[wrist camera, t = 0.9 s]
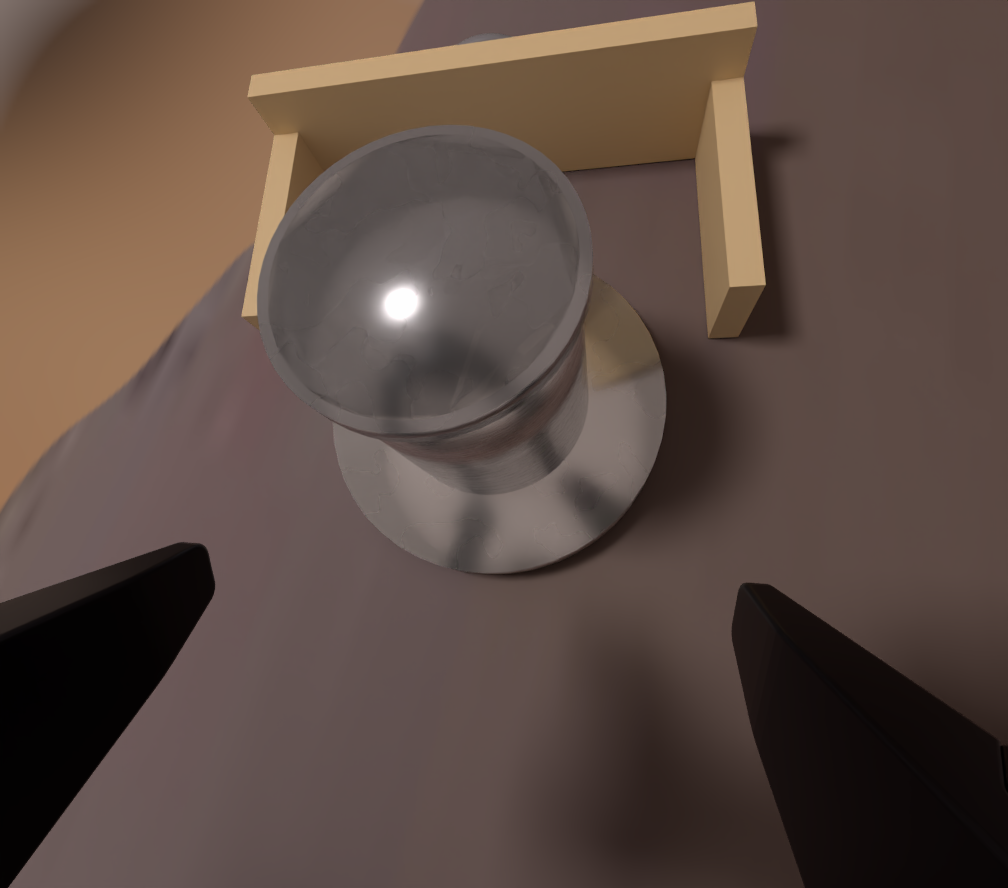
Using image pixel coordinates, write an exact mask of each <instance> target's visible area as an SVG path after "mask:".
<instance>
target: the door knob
mask: <svg viewBox="0 0 1008 888" xmlns="http://www.w3.org/2000/svg"><path fill="white" fill-rule="evenodd" d="M257 317H258V323H259V329H260V335H261V338H262V341H263V344H264V347H265V350H266V353H267V355H268V357H269V359H270V361H271V363H272V365H273V367H274V369H275V370H276V372H277V373H278V374H279V376H280V377H281V379H282V380H283V381H284V383H285V384H286V385H287V386H288V387H289V388H290V389H291V390H292V391H293V392H294V393H295V394H296V395H297V396H298V397H299V398H300V399H301V400H302V401H303V402H305V403H306V404H308V405H309V406H310V407H312V408H313V409H314V410H316V411H317V412H319V413H320V414H322V415H323V416H325V417H326V418H328V419H330V420H331V421H333V431H334V444H335V449H336V454H337V459H338V464H339V466H340V469H341V472H342V475H343V478H344V481H345V483H346V485H347V487H348V489H349V491H350V493H351V495H352V497H353V498H354V500H355V502H356V503H357V505H358V506H359V507H360V509H361V510H362V512H363V513H364V514H365V516H366V517H367V518H368V519H369V520H370V522H371V523H372V524H373V525H374V526H375V527H376V528H377V529H378V530H379V531H380V532H381V533H382V534H383V535H385V536H386V537H387V538H389V539H390V540H391V541H392V542H394V543H395V544H396V545H398V546H399V547H401V548H403V549H404V550H406V551H408V552H409V553H411V554H413V555H415V556H416V557H419V558H421V559H424V560H426V561H429V562H431V563H434V564H436V565H439V566H443V567H447V568H451V569H456V570H460V571H465V572H472V573H482V574H513V573H519V572H525V571H530V570H536V569H539V568H542V567H545V566H548V565H551V564H555V563H558V562H560V561H562V560H564V559H566V558H568V557H570V556H572V555H574V554H576V553H578V552H580V551H581V550H583V549H585V548H586V547H588V546H589V545H591V544H592V543H594V542H595V541H597V540H598V539H599V538H600V537H602V536H603V535H604V534H605V533H606V532H607V531H608V530H610V529H611V528H612V527H613V526H614V525H615V524H616V523H617V522H618V521H619V520H620V519H621V517H622V516H623V515H624V514H625V513H626V512H627V511H628V509H629V508H630V507H631V505H632V504H633V502H634V501H635V499H636V498H637V496H638V495H639V493H640V492H641V490H642V489H643V486H644V484H645V482H646V480H647V478H648V476H649V474H650V472H651V470H652V467H653V465H654V462H655V460H656V456H657V453H658V450H659V447H660V444H661V441H662V436H663V430H664V424H665V418H666V388H665V380H664V372H663V369H662V365H661V361H660V358H659V354H658V351H657V349H656V347H655V344H654V342H653V340H652V337H651V335H650V333H649V331H648V330H647V328H646V326H645V325H644V323H643V322H642V320H641V318H640V317H639V315H638V314H637V313H636V312H635V310H634V309H633V308H632V307H631V306H630V304H629V303H628V302H627V301H626V300H625V299H624V298H623V297H622V296H621V295H620V294H619V293H618V292H617V291H615V290H614V289H613V288H612V287H611V286H610V285H608V284H607V283H605V282H604V281H602V280H601V279H600V278H598V277H597V276H595V275H594V274H593V249H592V238H591V231H590V227H589V223H588V219H587V215H586V212H585V209H584V207H583V205H582V202H581V200H580V198H579V195H578V194H577V192H576V191H575V189H574V187H573V186H572V184H571V183H570V181H569V179H568V178H567V177H566V176H565V175H564V174H563V172H562V171H561V170H560V169H559V168H558V167H557V166H556V164H554V163H553V162H552V161H551V160H550V159H548V158H547V157H546V156H545V155H544V154H542V153H541V152H540V151H538V150H537V149H535V148H533V147H532V146H530V145H529V144H527V143H525V142H523V141H521V140H519V139H516V138H514V137H512V136H510V135H507V134H504V133H501V132H497V131H494V130H491V129H486V128H480V127H474V126H466V125H437V126H426V127H421V128H415V129H409V130H406V131H402V132H399V133H395V134H392V135H388V136H386V137H383V138H381V139H378V140H376V141H373V142H371V143H369V144H367V145H365V146H363V147H361V148H359V149H357V150H355V151H353V152H351V153H350V154H348V155H347V156H345V157H344V158H342V159H340V160H339V161H337V162H336V163H334V164H333V165H332V166H331V167H329V168H328V169H327V170H326V171H324V172H323V173H322V174H321V175H319V176H318V177H317V178H316V179H315V180H314V181H313V182H312V183H311V184H310V185H309V186H308V187H307V188H306V189H305V190H304V191H303V192H302V193H301V194H300V196H299V197H298V198H297V199H296V200H295V202H294V203H293V204H292V205H291V207H290V208H289V210H288V211H287V213H286V214H285V216H284V217H283V219H282V220H281V222H280V223H279V225H278V227H277V229H276V231H275V233H274V235H273V237H272V239H271V241H270V243H269V246H268V248H267V251H266V254H265V256H264V259H263V263H262V267H261V271H260V276H259V282H258V291H257Z"/></svg>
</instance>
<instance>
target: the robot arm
mask: <svg viewBox="0 0 1008 888" xmlns="http://www.w3.org/2000/svg"><path fill="white" fill-rule="evenodd" d="M214 591H215V580H214V576H213V571H212V567H211V562H210V558H209V553H208V550H207V548H206V547H205V546H204V545H202V544H199V543H186V542H180V543H176V544H173V545H170V546H167V547H164V548H161V549H158V550H155V551H152V552H149V553H146V554H143V555H140V556H137V557H134V558H131V559H129V560H126V561H123V562H120V563H117V564H114V565H111V566H108V567H105V568H102V569H99V570H96V571H93V572H90V573H87V574H84V575H82V576H79V577H76V578H73V579H70V580H67V581H64V582H61V583H58V584H55V585H52V586H49V587H46V588H43V589H40V590H37V591H34V592H32V593H29V594H26V595H23V596H20V597H17V598H14V599H11V600H8V601H5V602H2V603H0V888H8V887H9V886H10V884H11V883H12V882H13V880H14V879H15V878H16V876H17V875H18V874H19V872H20V871H21V870H22V868H23V867H24V865H25V864H26V863H27V861H28V860H29V859H30V857H31V856H32V855H33V853H34V852H35V851H36V849H37V848H38V847H39V845H40V844H41V842H42V841H43V840H44V838H45V837H46V836H47V834H48V833H49V832H50V830H51V829H52V828H53V826H54V825H55V824H56V822H57V821H58V819H59V818H60V817H61V815H62V814H63V813H64V811H65V810H66V809H67V807H68V806H69V805H70V803H71V802H72V801H73V799H74V798H75V797H76V795H77V794H78V792H79V791H80V790H81V788H82V787H83V786H84V784H85V783H86V782H87V780H88V779H89V778H90V776H91V775H92V774H93V772H94V771H95V769H96V768H97V767H98V765H99V764H100V763H101V761H102V760H103V759H104V757H105V756H106V755H107V753H108V752H109V751H110V749H111V748H112V746H113V745H114V744H115V742H116V741H117V740H118V738H119V737H120V736H121V734H122V733H123V732H124V730H125V729H126V728H127V726H128V725H129V723H130V722H131V721H132V719H133V718H134V717H135V715H136V714H137V713H138V711H139V710H140V709H141V707H142V706H143V705H144V703H145V702H146V700H147V699H148V698H149V696H150V695H151V694H152V692H153V691H154V690H155V688H156V687H157V686H158V684H159V683H160V681H161V680H162V678H163V677H164V676H165V674H166V673H167V671H168V669H169V668H170V666H171V665H172V663H173V662H174V660H175V658H176V657H177V655H178V653H179V652H180V650H181V649H182V647H183V645H184V644H185V642H186V640H187V639H188V637H189V635H190V634H191V632H192V630H193V629H194V627H195V626H196V624H197V622H198V621H199V619H200V617H201V616H202V614H203V612H204V611H205V609H206V607H207V606H208V604H209V603H210V601H211V599H212V597H213V595H214ZM732 642H733V646H734V651H735V656H736V660H737V665H738V669H739V674H740V678H741V683H742V687H743V692H744V697H745V701H746V706H747V710H748V715H749V719H750V723H751V727H752V732H753V735H754V739H755V742H756V745H757V748H758V751H759V754H760V757H761V760H762V763H763V766H764V769H765V772H766V775H767V778H768V781H769V784H770V787H771V790H772V792H773V795H774V798H775V801H776V804H777V807H778V810H779V813H780V816H781V819H782V822H783V825H784V828H785V831H786V833H787V836H788V839H789V842H790V845H791V848H792V851H793V854H794V857H795V860H796V863H797V866H798V869H799V872H800V874H801V877H802V880H803V883H804V886H805V888H1008V746H1007V745H1002V746H1001V743H1000V741H999V740H998V739H997V738H996V737H994V736H993V735H991V734H990V733H988V732H987V731H985V730H984V729H982V728H981V727H979V726H978V725H976V724H975V723H973V722H972V721H970V720H969V719H968V718H966V717H965V716H963V715H962V714H960V713H959V712H957V711H956V710H954V709H953V708H951V707H950V706H948V705H947V704H945V703H944V702H942V701H941V700H940V699H938V698H937V697H935V696H934V695H932V694H931V693H929V692H928V691H926V690H925V689H923V688H922V687H920V686H919V685H917V684H916V683H914V682H913V681H911V680H910V679H909V678H907V677H906V676H904V675H903V674H901V673H900V672H898V671H897V670H895V669H894V668H892V667H891V666H889V665H888V664H886V663H885V662H883V661H882V660H880V659H879V658H878V657H876V656H875V655H873V654H872V653H870V652H869V651H867V650H866V649H864V648H863V647H861V646H860V645H858V644H857V643H855V642H854V641H852V640H851V639H850V638H848V637H847V636H845V635H844V634H842V633H841V632H839V631H838V630H836V629H835V628H833V627H832V626H830V625H829V624H827V623H826V622H824V621H823V620H821V619H820V618H819V617H817V616H816V615H814V614H813V613H811V612H810V611H808V610H807V609H805V608H804V607H802V606H801V605H799V604H798V603H796V602H795V601H793V600H792V599H790V598H789V597H788V596H786V595H785V594H783V593H782V592H780V591H779V590H777V589H776V588H774V587H773V586H771V585H768V584H759V583H743V584H742V585H741V586H740V588H739V590H738V595H737V601H736V606H735V611H734V617H733V622H732Z"/></svg>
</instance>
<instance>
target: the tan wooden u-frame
mask: <svg viewBox="0 0 1008 888" xmlns="http://www.w3.org/2000/svg"><path fill="white" fill-rule="evenodd" d="M756 30H757V19H756V11H755V2H748V3H741V4H735V5H728V6H721V7H714V8H707V9H700V10H694V11H687V12H680V13H673V14H666V15H660V16H653V17H646V18H639V19H632V20H625V21H619V22H612V23H605V24H598V25H591V26H584V27H578V28H571V29H564V30H557V31H550V32H544V33H537V34H530V35H523V36H516V37H512V36H509V35H504V34H497V33H487V34H480V35H475V36H472V37H470V38H467V39H465V40H464V41H462V42H460V43H459V44H457V45H455V46H448V47H441V48H434V49H428V50H421V51H414V52H407V53H400V54H393V55H387V56H380V57H373V58H366V59H359V60H352V61H346V62H339V63H332V64H325V65H318V66H312V67H305V68H298V69H292V70H284V71H277V72H271V73H264V74H257V75H252V78H251V82H250V87H249V92H248V99H249V100H250V101H251V103H252V104H253V106H254V107H255V108H256V110H257V111H258V113H259V114H260V115H261V117H262V118H263V120H264V121H265V123H266V124H267V125H268V127H269V128H270V130H271V131H272V132H273V134H274V141H273V147H272V152H271V157H270V163H269V168H268V174H267V179H266V185H265V190H264V196H263V201H262V207H261V212H260V218H259V224H258V229H257V234H256V240H255V245H254V251H253V256H252V262H251V267H250V273H249V278H248V284H247V289H246V295H245V300H244V306H243V311H242V316H241V317H243V318H244V319H245V320H247V321H248V322H249V323H250V324H252V325H253V326H254V327H256V328H257V329H258V330H259V331H260V329H259V323H258V317H257V291H258V282H259V276H260V271H261V267H262V263H263V259H264V256H265V254H266V251H267V248H268V246H269V243H270V241H271V239H272V237H273V235H274V233H275V231H276V229H277V227H278V225H279V223H280V222H281V220H282V219H283V217H284V216H285V214H286V213H287V211H288V210H289V208H290V207H291V205H292V204H293V203H294V202H295V200H296V199H297V198H298V197H299V196H300V194H301V193H302V192H303V191H304V190H305V189H306V188H307V187H308V186H309V185H310V184H311V183H312V182H313V181H314V180H315V179H316V178H317V177H318V176H319V175H321V174H322V173H323V172H324V171H326V170H327V169H328V168H329V167H331V166H332V165H333V164H334V163H336V162H337V161H339V160H340V159H342V158H344V157H345V156H347V155H348V154H350V153H351V152H353V151H355V150H357V149H359V148H361V147H363V146H365V145H367V144H369V143H371V142H373V141H376V140H378V139H381V138H383V137H386V136H388V135H392V134H395V133H399V132H402V131H406V130H409V129H415V128H421V127H426V126H437V125H466V126H474V127H480V128H486V129H491V130H494V131H497V132H501V133H504V134H507V135H510V136H512V137H514V138H516V139H519V140H521V141H523V142H525V143H527V144H529V145H530V146H532V147H533V148H535V149H537V150H538V151H540V152H541V153H542V154H544V155H545V156H546V157H547V158H548V159H550V160H551V161H552V162H553V163H554V164H556V166H557V167H558V168H559V169H560V170H561V171H562V172H563V171H573V170H583V169H593V168H603V167H613V166H623V165H633V164H643V163H653V162H663V161H672V160H682V159H692V158H695V165H696V179H697V193H698V206H699V220H700V234H701V247H702V261H703V274H704V288H705V302H706V315H707V329H708V338H727V337H738V336H739V334H740V333H741V331H742V329H743V327H744V325H745V323H746V321H747V319H748V318H749V316H750V314H751V312H752V310H753V308H754V306H755V304H756V302H757V301H758V299H759V297H760V295H761V293H762V291H763V289H764V287H765V285H766V282H765V273H764V263H763V254H762V245H761V235H760V226H759V217H758V208H757V198H756V189H755V180H754V170H753V161H752V152H751V143H750V133H749V124H748V115H747V105H746V96H745V87H744V73H745V70H746V66H747V62H748V59H749V55H750V51H751V48H752V44H753V41H754V37H755V33H756Z"/></svg>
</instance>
